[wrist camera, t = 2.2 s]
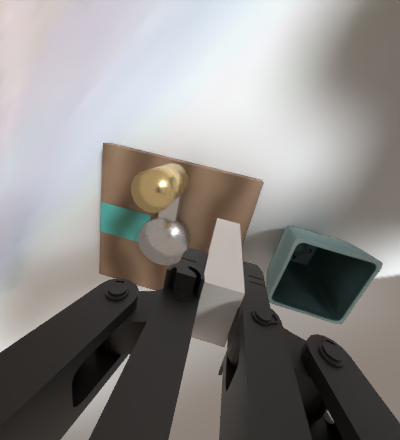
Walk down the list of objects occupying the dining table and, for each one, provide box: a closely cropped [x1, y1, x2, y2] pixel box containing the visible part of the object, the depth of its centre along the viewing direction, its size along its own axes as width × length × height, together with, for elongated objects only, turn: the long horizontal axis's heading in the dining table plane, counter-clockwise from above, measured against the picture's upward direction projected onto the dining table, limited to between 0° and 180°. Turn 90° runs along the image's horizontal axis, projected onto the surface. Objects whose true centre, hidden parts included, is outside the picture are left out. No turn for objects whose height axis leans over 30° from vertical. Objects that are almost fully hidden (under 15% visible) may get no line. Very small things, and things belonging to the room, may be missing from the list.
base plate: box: [99, 143, 263, 291], centre depth 31 cm, size 22×22×4 cm
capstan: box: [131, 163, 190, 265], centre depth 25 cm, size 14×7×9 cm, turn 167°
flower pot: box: [267, 226, 382, 324], centre depth 26 cm, size 9×9×9 cm
